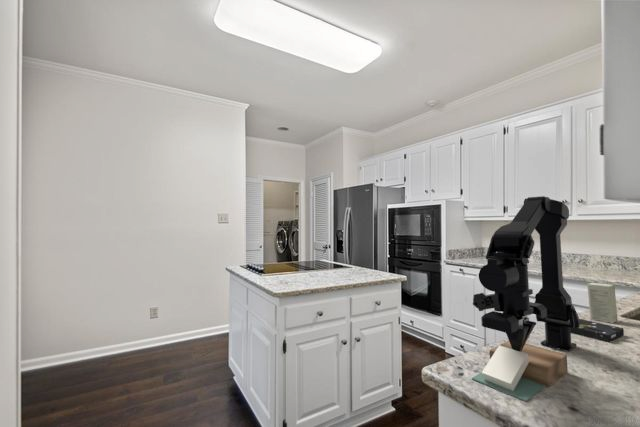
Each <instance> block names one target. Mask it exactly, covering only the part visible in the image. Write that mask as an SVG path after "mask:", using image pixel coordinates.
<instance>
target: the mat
mask: <svg viewBox="0 0 640 427" xmlns="http://www.w3.org/2000/svg"><path fill="white" fill-rule="evenodd" d="M471 380H472V381H475V382H477V383H479V384H482V385H484V386H487V387H490V388H492V389H494V390H497V391H500V392H501V393H504V394H506V395H509V396H511V397H514V398H516V399H518V400H521V401H522V402H523V401H524V402H526V403H527V402H528V401H530V399H532V398H533V397H535V396H536V395H537V394H538V393H540V392H541V391H542V390H543V389H545V388H546V387H545V385H543V384H540V383H537V382H534V381H532V380H529V379H526V378H523V377H521V378H520V380H519V382H518V383H517V385H516V387H515V389H514V391H511V390H509V389H506V388H504V387H501V386H499V385H496V384H494V383H491V382H489V381H486V380H484V378H483V375H482V372H480V373H478V374H477V375H476V374H475V375H474V376H473V377H472V378H471Z"/></svg>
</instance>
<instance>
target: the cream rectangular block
mask: <svg viewBox="0 0 640 427" xmlns="http://www.w3.org/2000/svg"><path fill="white" fill-rule="evenodd" d="M500 345H501V344H499V345H497V346H498V348H497V349H496V351H495V352H494V354H493V356H492V357H491V359H490V358H489V360H488V362H487V364H486V365H485V366H484V368H483V370H482V371H481V373H482V375H483V378H484V380H486V381H489V382H491V383H494V384H496V385H499V386H501V387H504V388H506V389H509V390H511V391H514V389H515V387H516V385H517V383H518V382H519V380H520V378H521V376H522V374H523V372H524V370H525V369H526V367H527V365H528V363H529V361H530V360H529V357H528V354H526V353H523V352H520V351H516V350H513V349H510V348H506V347H503V346H500Z"/></svg>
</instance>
